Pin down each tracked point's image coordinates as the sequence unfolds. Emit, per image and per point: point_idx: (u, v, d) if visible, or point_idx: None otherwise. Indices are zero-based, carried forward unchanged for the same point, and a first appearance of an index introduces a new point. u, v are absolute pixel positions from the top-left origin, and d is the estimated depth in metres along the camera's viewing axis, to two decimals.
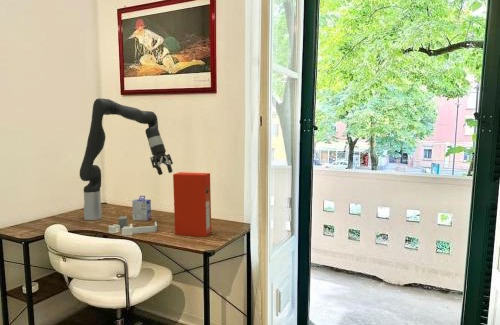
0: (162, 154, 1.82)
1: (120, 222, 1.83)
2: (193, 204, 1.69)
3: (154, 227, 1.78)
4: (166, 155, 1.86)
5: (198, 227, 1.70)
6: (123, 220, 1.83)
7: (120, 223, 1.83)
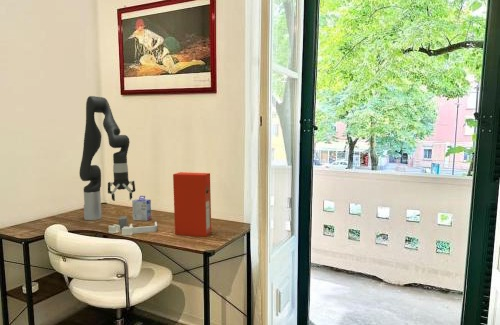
0: (122, 181, 1.83)
1: (120, 222, 1.83)
2: (193, 204, 1.69)
3: (154, 227, 1.78)
4: (130, 182, 1.85)
5: (198, 227, 1.70)
6: (123, 220, 1.83)
7: (120, 223, 1.83)
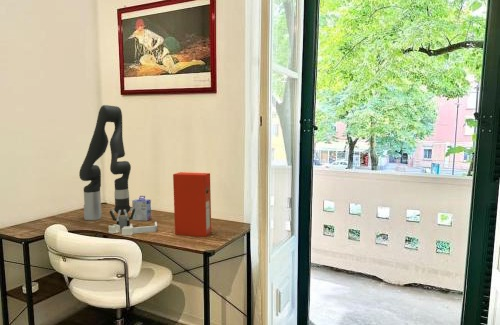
0: (123, 207, 1.84)
1: (120, 222, 1.83)
2: (193, 204, 1.69)
3: (154, 227, 1.78)
4: (131, 208, 1.86)
5: (198, 227, 1.70)
6: (123, 220, 1.83)
7: (120, 223, 1.83)
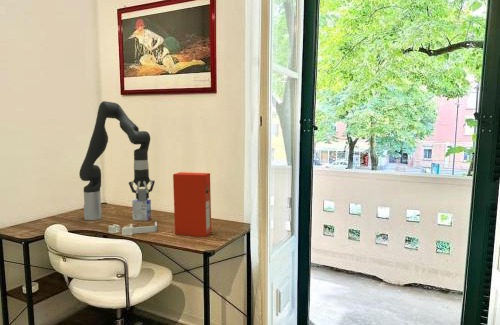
0: (143, 178, 1.78)
1: (140, 194, 1.77)
2: (193, 204, 1.69)
3: (154, 227, 1.78)
4: (150, 180, 1.80)
5: (198, 227, 1.70)
6: (143, 192, 1.77)
7: (140, 195, 1.77)
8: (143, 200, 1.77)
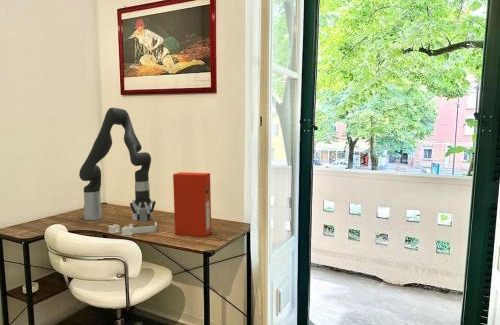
0: (144, 199, 1.79)
1: (141, 215, 1.78)
2: (193, 204, 1.69)
3: (154, 227, 1.78)
4: (151, 201, 1.81)
5: (198, 227, 1.70)
6: (144, 213, 1.78)
7: (141, 216, 1.78)
8: (144, 221, 1.78)
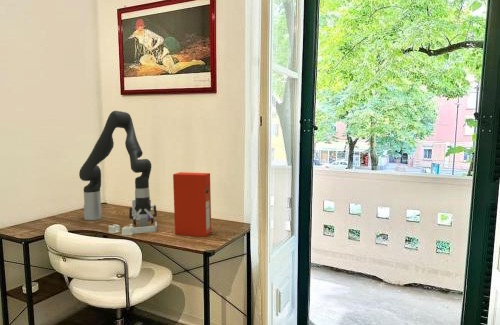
0: (144, 206, 1.80)
1: (141, 224, 1.78)
2: (193, 204, 1.69)
3: (154, 227, 1.78)
4: (151, 206, 1.81)
5: (198, 227, 1.70)
6: (144, 222, 1.79)
7: (141, 225, 1.78)
8: None
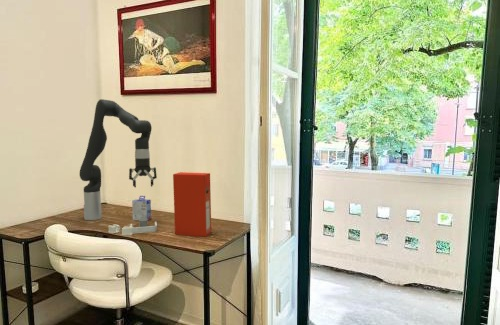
0: (144, 167, 1.79)
1: (141, 224, 1.78)
2: (193, 204, 1.69)
3: (154, 227, 1.78)
4: (151, 168, 1.81)
5: (198, 227, 1.70)
6: (144, 222, 1.79)
7: (141, 225, 1.78)
8: None
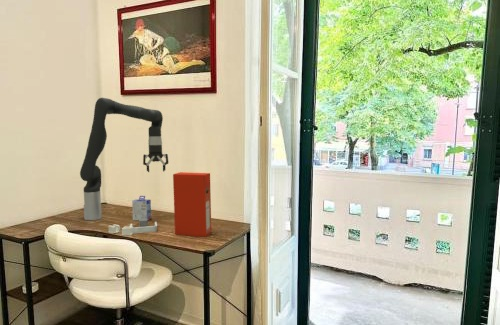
0: (157, 153, 1.94)
1: (141, 224, 1.78)
2: (193, 204, 1.69)
3: (154, 227, 1.78)
4: (163, 154, 1.95)
5: (198, 227, 1.70)
6: (144, 222, 1.79)
7: (141, 225, 1.78)
8: None
